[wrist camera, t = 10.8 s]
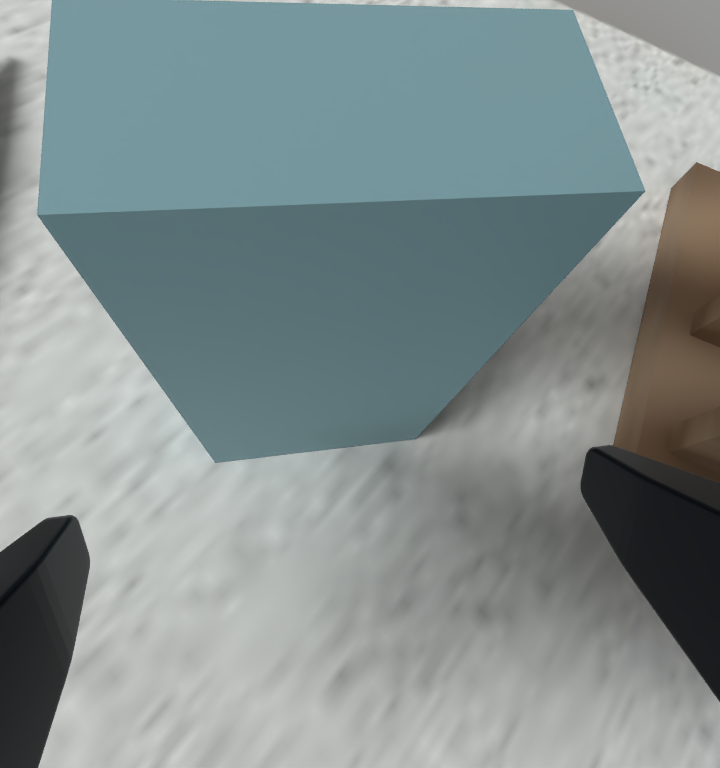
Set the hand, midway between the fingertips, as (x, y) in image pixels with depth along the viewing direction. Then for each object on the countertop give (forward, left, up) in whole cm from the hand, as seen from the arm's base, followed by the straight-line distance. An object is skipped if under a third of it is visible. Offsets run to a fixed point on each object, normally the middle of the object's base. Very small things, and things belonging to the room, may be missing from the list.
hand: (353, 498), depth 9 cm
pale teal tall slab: (+4, -1, -7) cm, 8 cm away
